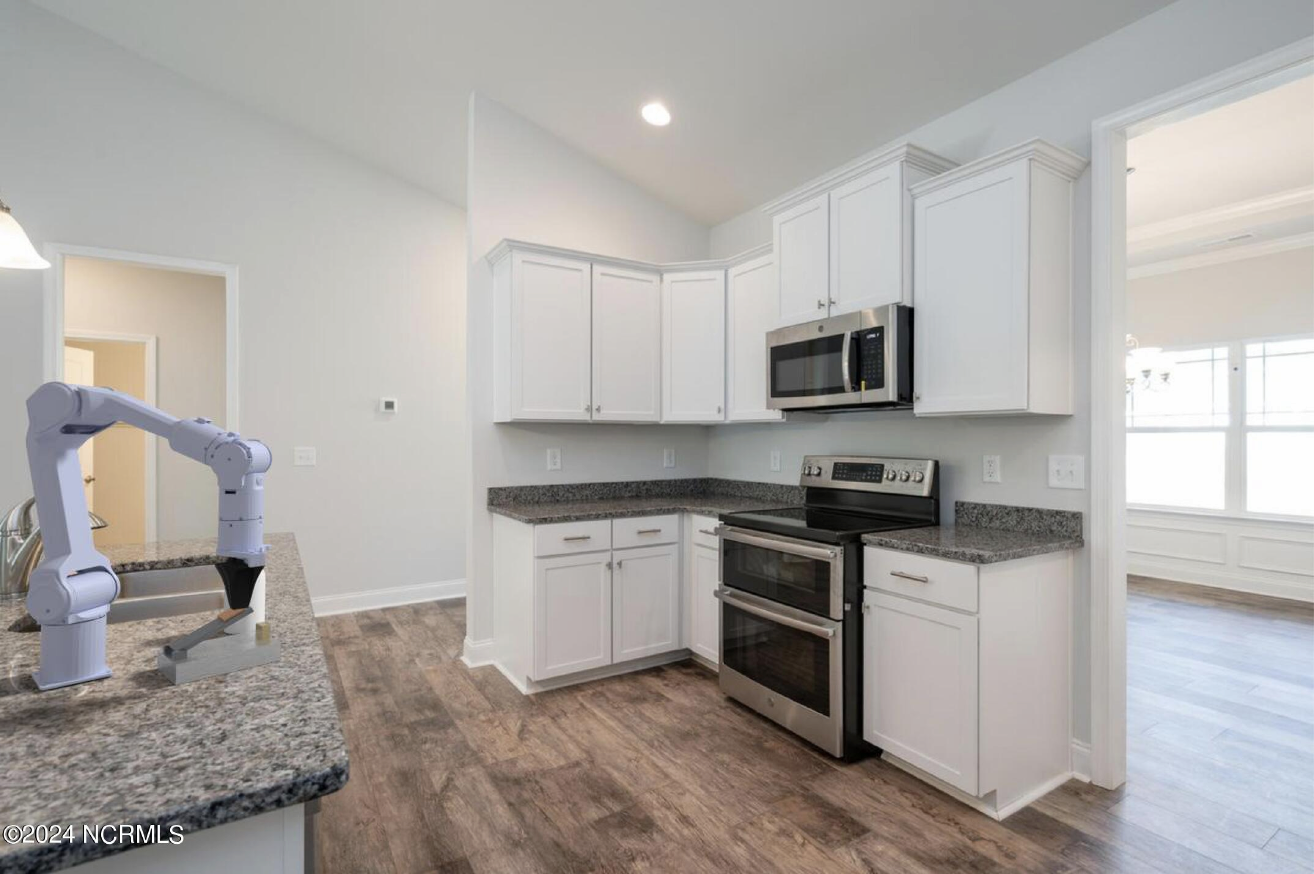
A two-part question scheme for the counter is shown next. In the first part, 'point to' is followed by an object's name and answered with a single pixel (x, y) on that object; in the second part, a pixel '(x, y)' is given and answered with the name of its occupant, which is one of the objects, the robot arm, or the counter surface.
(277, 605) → the counter surface
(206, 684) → the counter surface
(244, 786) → the counter surface
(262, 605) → the can
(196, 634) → the grey slab
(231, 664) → the base block
